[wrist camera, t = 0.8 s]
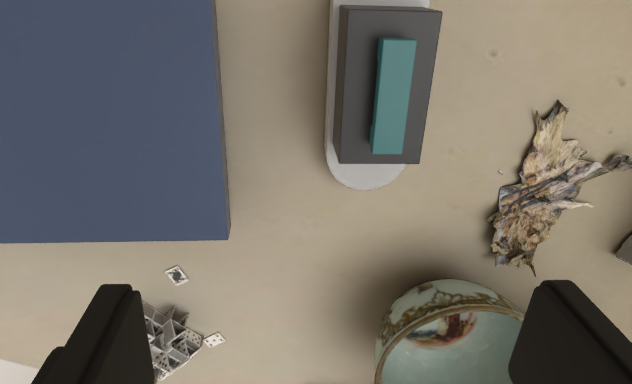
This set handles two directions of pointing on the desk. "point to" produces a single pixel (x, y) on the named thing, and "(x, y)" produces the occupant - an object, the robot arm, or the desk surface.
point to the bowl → (447, 336)
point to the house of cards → (172, 336)
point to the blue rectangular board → (111, 122)
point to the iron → (378, 87)
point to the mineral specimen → (625, 251)
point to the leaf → (543, 190)
